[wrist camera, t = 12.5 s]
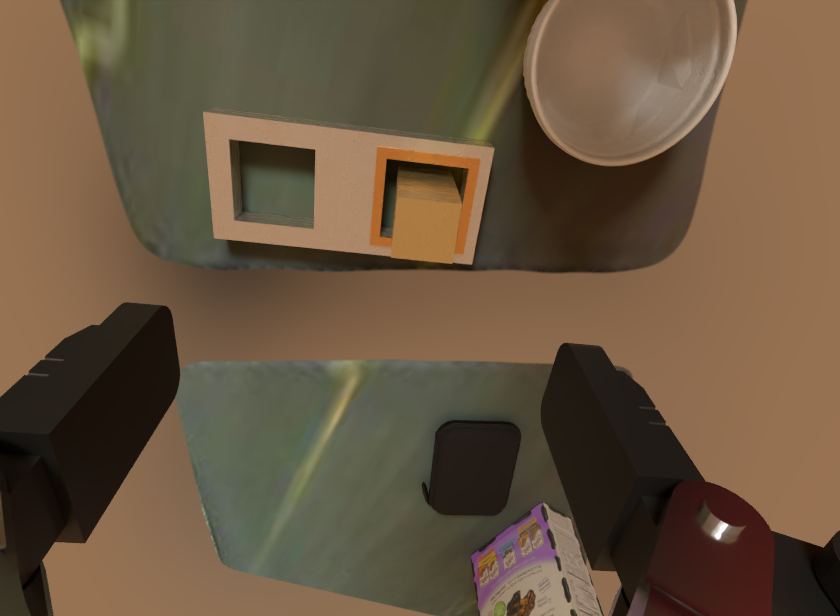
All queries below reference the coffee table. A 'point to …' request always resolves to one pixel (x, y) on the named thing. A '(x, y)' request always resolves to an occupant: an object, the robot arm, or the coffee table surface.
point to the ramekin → (626, 73)
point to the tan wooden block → (425, 215)
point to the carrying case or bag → (472, 467)
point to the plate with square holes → (336, 180)
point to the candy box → (534, 570)
